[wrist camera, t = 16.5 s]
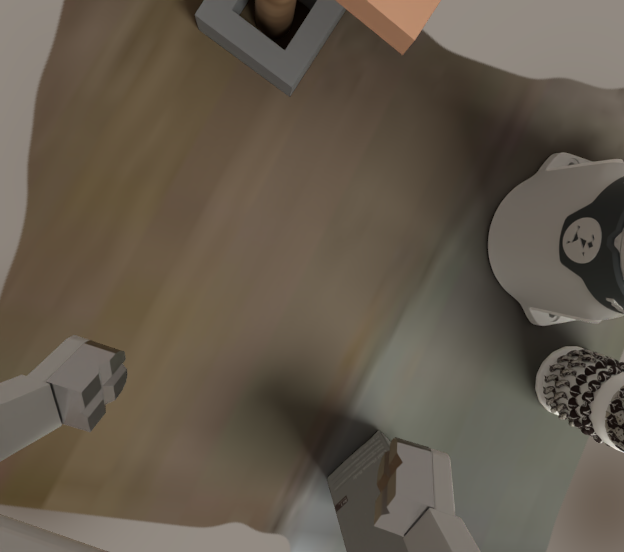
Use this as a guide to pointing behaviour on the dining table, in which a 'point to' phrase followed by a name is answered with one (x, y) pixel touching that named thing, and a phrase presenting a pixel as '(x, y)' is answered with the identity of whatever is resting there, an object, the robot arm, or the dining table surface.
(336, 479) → the skincare box
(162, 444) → the dining table surface
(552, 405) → the decorative candle
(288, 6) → the peg
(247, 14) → the dining table surface
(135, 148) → the dining table surface
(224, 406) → the dining table surface
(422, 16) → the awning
